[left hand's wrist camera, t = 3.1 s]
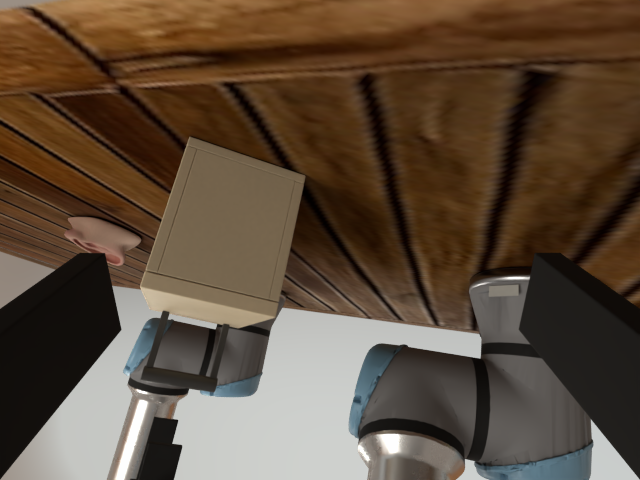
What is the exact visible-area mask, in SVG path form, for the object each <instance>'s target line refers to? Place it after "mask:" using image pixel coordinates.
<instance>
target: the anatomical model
mask: <svg viewBox="0 0 640 480" xmlns="http://www.w3.org/2000/svg"><path fill="white" fill-rule="evenodd" d="M68 220H69V222H70V223H71V225H72V227H73V229H70V230H67V231H66V232H65V236H66V237H67V238H68V239H70V240H71V241H72V242H74V243H75V244H76V245H78V246H79V247H81V248H82V249H84V250H86V251H88V252H89V253H105V255H106V260H107V262H108V263H110V264H113V265H118V266H119V265H122V264H123V263H124V261H125V253H124V252H125V251H127V250H130V249H132V248H134V247H135V246H137V245H138V244H139V243H140V242H141V238H140V237H139V236H137V235H136V234H134V233H132V232H130V231H128V230H126V229H124V228H122V227H119V226H117V225H114V224H112V223H109V222H107V221H104V220H101V219H98V218H92V217H69V218H68Z"/></svg>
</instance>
